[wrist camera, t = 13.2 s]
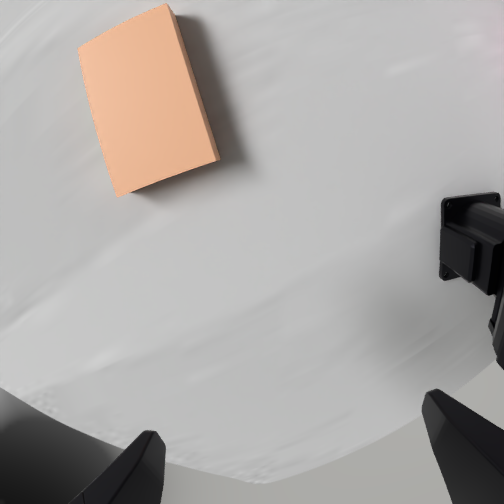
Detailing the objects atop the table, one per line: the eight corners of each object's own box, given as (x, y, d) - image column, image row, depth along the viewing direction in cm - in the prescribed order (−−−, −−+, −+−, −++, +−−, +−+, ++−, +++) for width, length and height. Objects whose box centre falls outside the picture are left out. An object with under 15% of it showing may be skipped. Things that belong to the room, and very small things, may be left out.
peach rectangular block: (221, 159, 18) (176, 17, 15) (216, 160, 16) (166, 3, 12) (132, 191, 19) (95, 56, 16) (117, 197, 17) (77, 48, 13)
